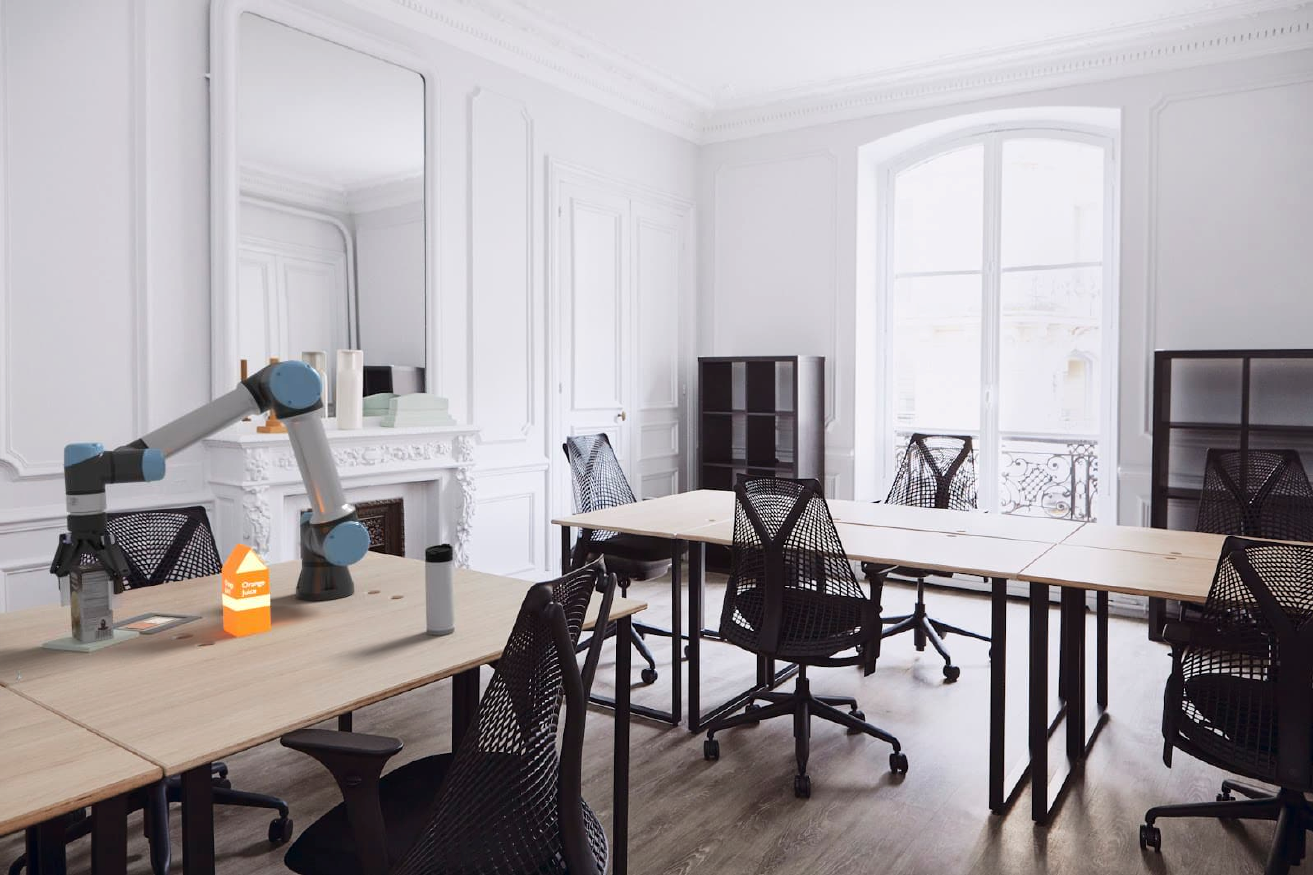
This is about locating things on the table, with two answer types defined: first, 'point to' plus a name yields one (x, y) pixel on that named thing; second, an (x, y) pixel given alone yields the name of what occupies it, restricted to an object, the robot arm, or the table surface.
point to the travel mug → (439, 589)
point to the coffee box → (90, 603)
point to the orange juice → (245, 593)
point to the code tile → (154, 622)
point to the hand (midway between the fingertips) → (91, 607)
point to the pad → (76, 645)
